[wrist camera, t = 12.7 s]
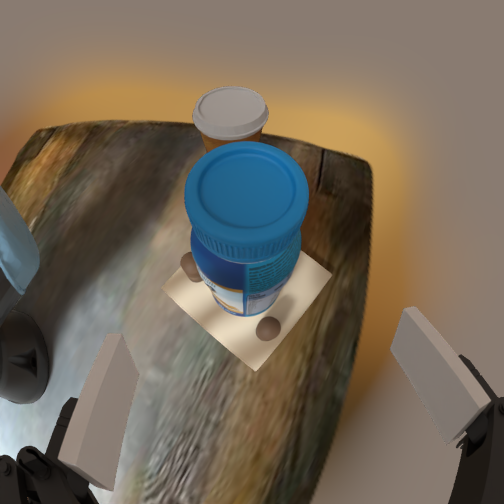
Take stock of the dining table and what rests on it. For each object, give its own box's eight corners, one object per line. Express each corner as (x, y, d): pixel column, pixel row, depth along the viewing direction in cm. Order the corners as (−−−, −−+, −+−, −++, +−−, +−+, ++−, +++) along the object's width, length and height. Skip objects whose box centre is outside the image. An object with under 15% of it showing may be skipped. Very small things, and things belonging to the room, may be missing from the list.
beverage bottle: (279, 320, 31) (333, 266, 12) (206, 316, 31) (151, 255, 12) (281, 252, 34) (320, 134, 15) (213, 248, 34) (183, 127, 15)
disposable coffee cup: (268, 185, 39) (276, 126, 28) (203, 192, 39) (190, 134, 27) (258, 140, 43) (262, 82, 31) (201, 145, 42) (191, 88, 31)
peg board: (164, 290, 33) (150, 279, 28) (241, 210, 38) (240, 188, 33) (255, 370, 30) (257, 374, 25) (329, 277, 34) (342, 264, 29)
